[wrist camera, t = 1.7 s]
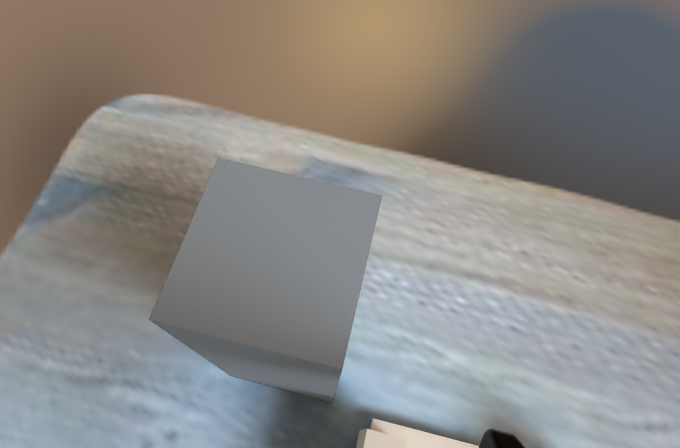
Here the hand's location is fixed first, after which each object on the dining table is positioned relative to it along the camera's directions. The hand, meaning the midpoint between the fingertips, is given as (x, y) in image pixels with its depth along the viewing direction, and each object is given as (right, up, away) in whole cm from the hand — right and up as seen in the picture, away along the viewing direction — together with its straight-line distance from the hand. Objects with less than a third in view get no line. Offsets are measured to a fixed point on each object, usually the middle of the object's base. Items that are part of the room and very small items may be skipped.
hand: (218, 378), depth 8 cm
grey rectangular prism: (0, -2, +10) cm, 11 cm away
